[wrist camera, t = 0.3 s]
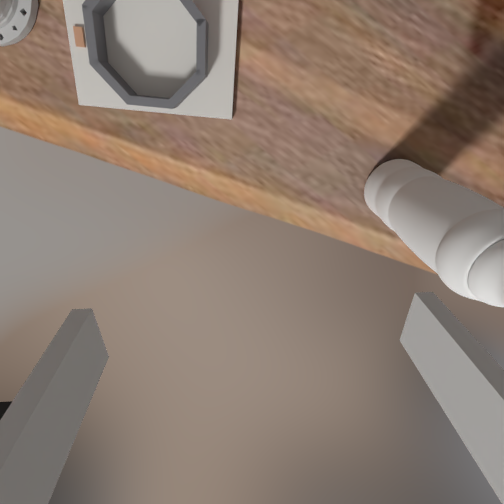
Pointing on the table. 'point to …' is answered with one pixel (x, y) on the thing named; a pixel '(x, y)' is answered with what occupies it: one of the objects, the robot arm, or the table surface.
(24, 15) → the mechanical component
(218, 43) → the collar stand
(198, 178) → the table surface
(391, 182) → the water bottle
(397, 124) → the table surface
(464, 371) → the robot arm
